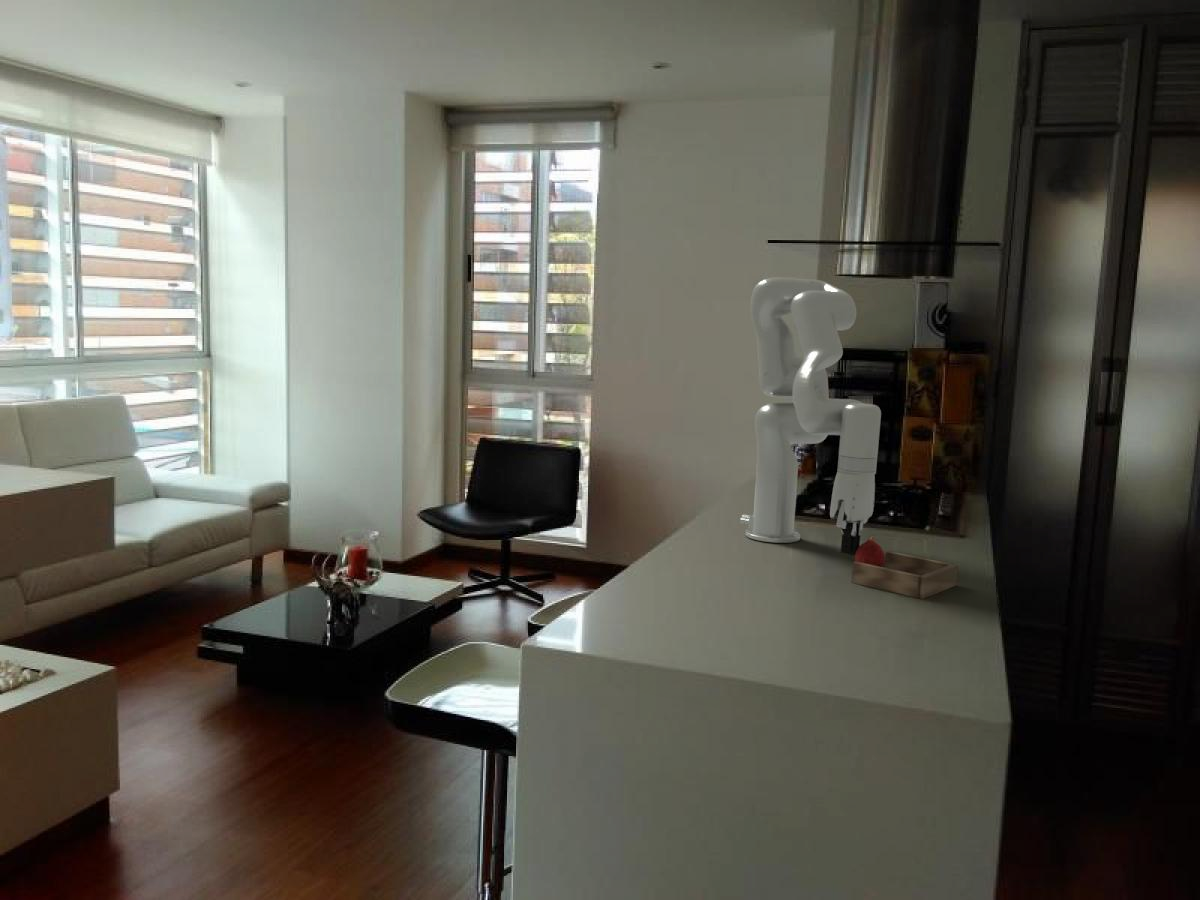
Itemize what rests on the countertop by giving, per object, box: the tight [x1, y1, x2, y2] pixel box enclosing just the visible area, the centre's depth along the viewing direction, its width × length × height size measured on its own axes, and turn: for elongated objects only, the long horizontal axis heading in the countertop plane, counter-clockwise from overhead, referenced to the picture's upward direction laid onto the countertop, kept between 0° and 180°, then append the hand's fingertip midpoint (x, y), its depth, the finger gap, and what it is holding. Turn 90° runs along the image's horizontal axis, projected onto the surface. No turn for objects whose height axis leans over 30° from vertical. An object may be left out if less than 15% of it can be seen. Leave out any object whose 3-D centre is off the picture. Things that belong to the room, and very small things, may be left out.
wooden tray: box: [851, 550, 959, 600], centre depth 188 cm, size 15×15×4 cm
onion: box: [854, 536, 886, 567], centre depth 193 cm, size 6×6×8 cm
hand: (849, 553), depth 196 cm, fingers closed
